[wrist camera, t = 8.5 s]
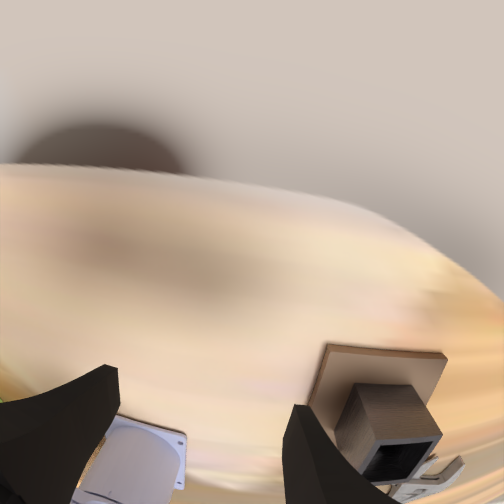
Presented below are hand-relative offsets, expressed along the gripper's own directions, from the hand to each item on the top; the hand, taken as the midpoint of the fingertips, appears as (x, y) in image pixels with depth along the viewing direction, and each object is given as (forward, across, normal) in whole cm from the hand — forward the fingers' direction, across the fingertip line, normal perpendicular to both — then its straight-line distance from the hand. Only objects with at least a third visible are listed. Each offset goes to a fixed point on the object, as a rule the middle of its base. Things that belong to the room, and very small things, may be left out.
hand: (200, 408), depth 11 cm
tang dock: (+9, -12, +6) cm, 16 cm away
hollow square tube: (+8, -12, +6) cm, 16 cm away
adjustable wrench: (+10, -20, +24) cm, 33 cm away
